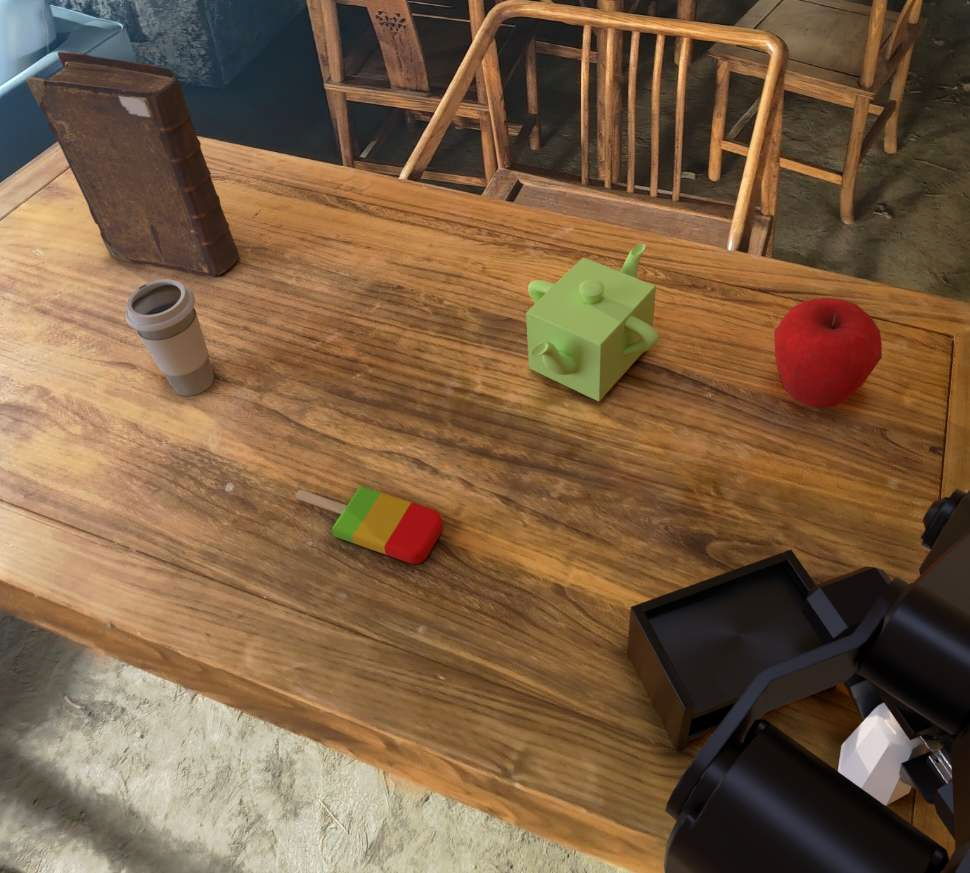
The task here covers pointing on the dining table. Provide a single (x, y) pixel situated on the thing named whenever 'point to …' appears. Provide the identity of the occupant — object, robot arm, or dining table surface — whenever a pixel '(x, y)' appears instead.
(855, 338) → the apple
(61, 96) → the book
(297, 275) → the dining table surface
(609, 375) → the teapot
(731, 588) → the black open box
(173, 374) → the cup
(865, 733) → the salt shaker
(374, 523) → the popsicle
